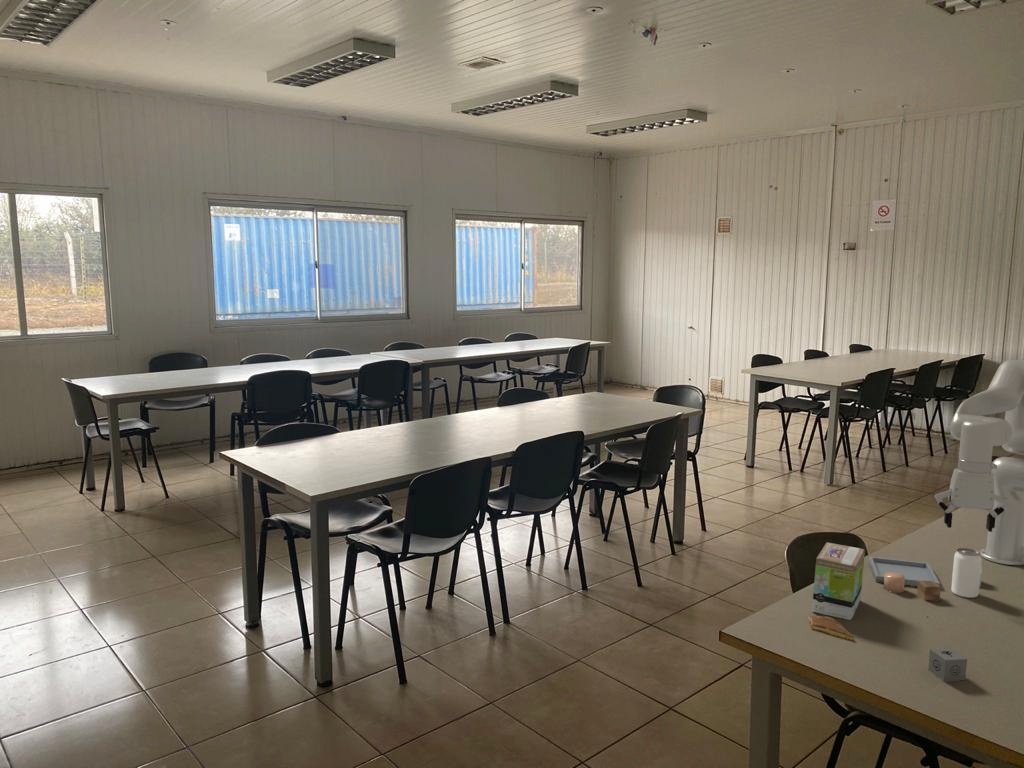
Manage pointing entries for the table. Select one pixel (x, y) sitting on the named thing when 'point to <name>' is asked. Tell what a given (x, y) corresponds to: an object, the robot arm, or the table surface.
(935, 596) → the walnut block
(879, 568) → the tray
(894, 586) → the brown egg
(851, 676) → the table surface
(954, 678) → the dice cube
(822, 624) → the toasted sandwich
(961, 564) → the can
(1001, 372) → the robot arm
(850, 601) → the tea box
